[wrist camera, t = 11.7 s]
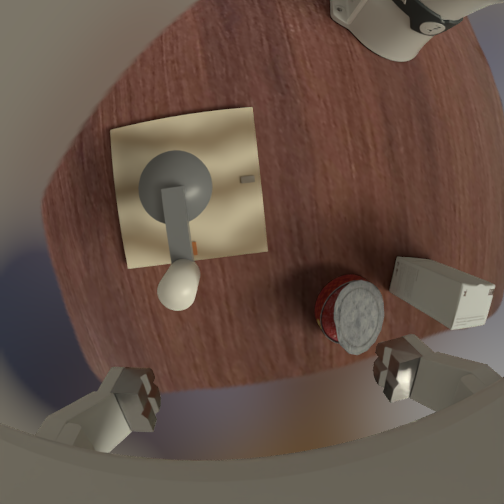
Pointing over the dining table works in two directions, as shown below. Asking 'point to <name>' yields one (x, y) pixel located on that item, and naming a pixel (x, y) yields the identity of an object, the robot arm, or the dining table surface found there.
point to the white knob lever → (176, 217)
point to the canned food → (350, 312)
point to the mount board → (223, 179)
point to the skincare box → (442, 292)
